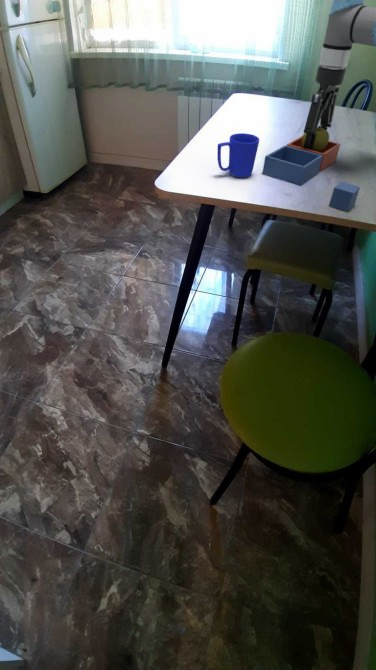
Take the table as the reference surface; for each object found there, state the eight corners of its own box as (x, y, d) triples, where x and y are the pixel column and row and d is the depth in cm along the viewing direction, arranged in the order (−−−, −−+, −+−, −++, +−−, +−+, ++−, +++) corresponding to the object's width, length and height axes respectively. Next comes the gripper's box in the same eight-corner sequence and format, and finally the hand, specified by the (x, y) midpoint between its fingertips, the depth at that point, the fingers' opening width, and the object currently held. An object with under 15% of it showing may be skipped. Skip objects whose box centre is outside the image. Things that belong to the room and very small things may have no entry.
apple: (327, 157, 126) (334, 133, 121) (302, 157, 125) (308, 132, 120) (320, 149, 131) (326, 125, 126) (296, 148, 131) (301, 124, 126)
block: (354, 205, 108) (360, 186, 104) (347, 211, 105) (353, 193, 101) (336, 199, 110) (341, 181, 106) (328, 206, 107) (334, 187, 103)
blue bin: (318, 172, 123) (323, 155, 120) (300, 185, 116) (304, 167, 112) (281, 162, 128) (285, 145, 125) (262, 173, 121) (265, 156, 117)
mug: (209, 171, 120) (212, 135, 114) (245, 167, 124) (250, 132, 117) (221, 183, 115) (225, 145, 108) (259, 177, 119) (265, 141, 112)
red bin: (335, 160, 131) (340, 143, 128) (320, 171, 124) (324, 154, 120) (300, 151, 136) (304, 134, 133) (283, 161, 129) (286, 144, 125)
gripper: (333, 59, 120) (314, 141, 136) (303, 69, 108) (286, 158, 124) (358, 63, 117) (336, 146, 133) (330, 74, 105) (309, 164, 120)
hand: (312, 152), depth 128 cm, fingers closed on apple, 8 cm apart
